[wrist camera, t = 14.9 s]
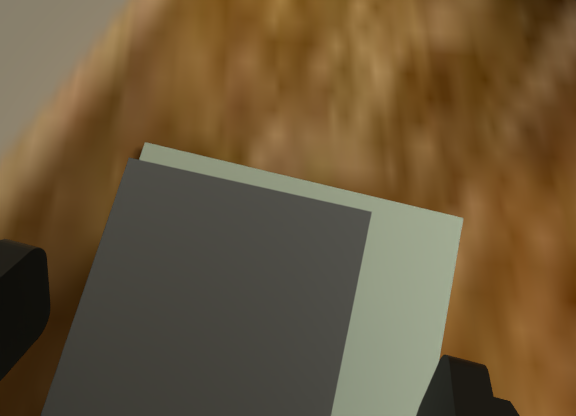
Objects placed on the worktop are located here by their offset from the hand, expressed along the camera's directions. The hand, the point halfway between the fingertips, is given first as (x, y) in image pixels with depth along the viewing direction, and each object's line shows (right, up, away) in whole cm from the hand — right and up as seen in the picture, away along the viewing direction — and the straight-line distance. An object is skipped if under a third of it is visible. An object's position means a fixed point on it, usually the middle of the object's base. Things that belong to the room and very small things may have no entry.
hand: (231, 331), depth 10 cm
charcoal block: (0, -2, +7) cm, 7 cm away
